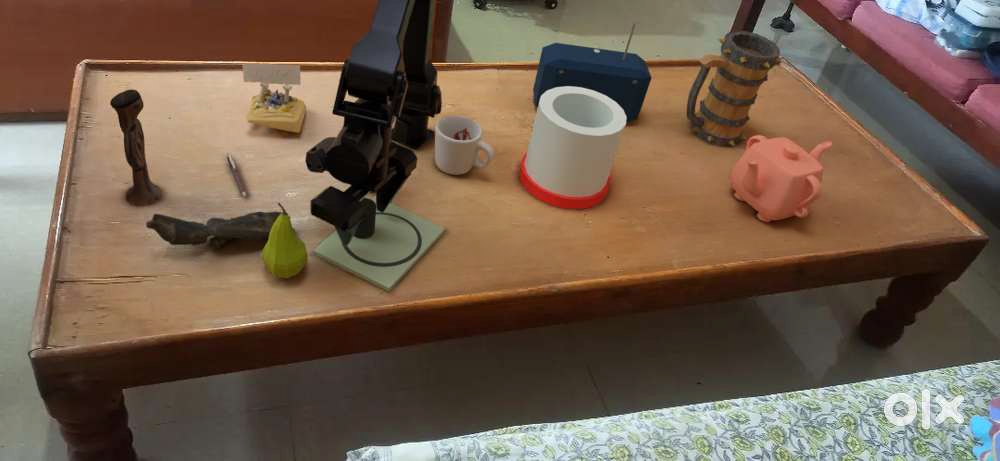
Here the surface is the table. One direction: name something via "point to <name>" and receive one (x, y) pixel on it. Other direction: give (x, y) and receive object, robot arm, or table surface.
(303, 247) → the fruit
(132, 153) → the figurine
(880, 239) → the table surface
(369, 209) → the stamp
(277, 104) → the cake
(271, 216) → the statue
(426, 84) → the robot arm
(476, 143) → the cup
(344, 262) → the board
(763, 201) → the teapot
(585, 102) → the container
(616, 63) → the radio
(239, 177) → the pen
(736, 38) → the mug
